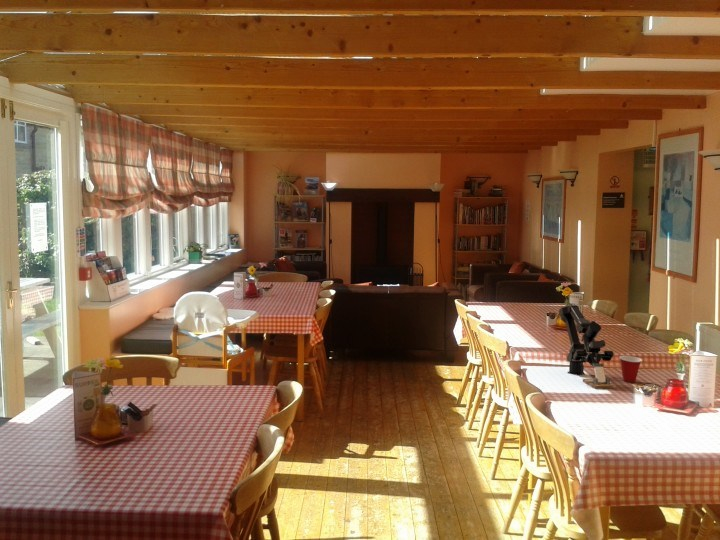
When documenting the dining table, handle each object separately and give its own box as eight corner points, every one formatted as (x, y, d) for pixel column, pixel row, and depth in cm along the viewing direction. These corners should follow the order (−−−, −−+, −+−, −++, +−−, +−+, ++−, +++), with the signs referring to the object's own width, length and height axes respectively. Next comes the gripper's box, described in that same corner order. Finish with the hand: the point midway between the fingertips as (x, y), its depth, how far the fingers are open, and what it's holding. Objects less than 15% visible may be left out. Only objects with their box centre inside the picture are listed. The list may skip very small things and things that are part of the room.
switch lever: (595, 383, 346) (592, 364, 351) (605, 383, 346) (601, 365, 351) (597, 381, 344) (593, 363, 349) (606, 382, 345) (603, 363, 349)
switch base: (582, 381, 357) (583, 373, 357) (600, 381, 358) (600, 373, 357) (594, 388, 342) (595, 380, 341) (613, 389, 342) (613, 380, 342)
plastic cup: (630, 384, 354) (631, 360, 353) (613, 379, 364) (614, 356, 363) (645, 382, 359) (647, 358, 358) (628, 378, 369) (629, 355, 368)
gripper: (576, 333, 354) (583, 360, 344) (613, 334, 355) (621, 360, 345) (570, 346, 362) (576, 373, 352) (606, 347, 364) (614, 373, 353)
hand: (597, 369), depth 350 cm, fingers closed, pressing on switch lever
